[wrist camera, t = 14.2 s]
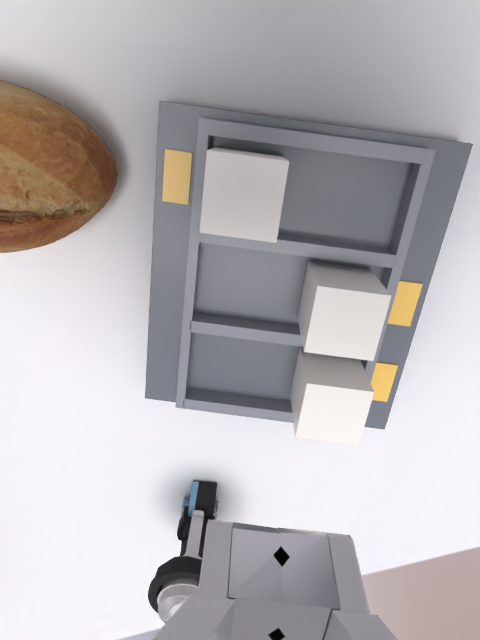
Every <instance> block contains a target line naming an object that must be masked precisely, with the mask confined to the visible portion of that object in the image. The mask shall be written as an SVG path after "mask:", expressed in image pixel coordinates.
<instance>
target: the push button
mask: <svg viewBox="0 0 480 640" xmlns="http://www.w3.org/2000/svg"><path fill="white" fill-rule="evenodd" d="M216 488H217V484H216V483H207V482H197V481H193V483H192V491H191V496H190V502H189V506H185V497H184V501H183V506H182V515H181V519H180V521H179V526H178V531H177V536H178V539H179V540H182V545H181V553H180V557H174V558H172V559H171V560H169V561H168V562H166V563H164V564H163V565H161V566H160V567H159V568H158V570H157V573H156V576H155V578H154V579H153V580H152V582H151V584H150V587H149V591H148V599H149V602H150V605H151V606H152V608H153V609H154V610H155V611H156V612H157V613H158V614H159V617H160V619H161V620H162V621H163V622H164V623H167V621H168V620H169V619H170V618H171V617H172V615H173V614H174V613H175V612H176V611H177V610H178V608H179V607H180V606H181V605H182V604H183V602H184V601H185V600H186V599H187V598H188V596H189V595H190V594H191V595H198V588H199V580H200V573H201V565H202V557H203V550H204V542H205V534H206V527H207V523H208V519H209V520H216V516H217V508H216V512H214V505H215V497H216ZM217 507H218V501H217Z"/></svg>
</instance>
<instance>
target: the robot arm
mask: <svg viewBox="0 0 480 640" xmlns="http://www.w3.org/2000/svg"><path fill="white" fill-rule="evenodd" d="M153 640H398V639H397V638H396V637H395V635H394V634H393V633H392V632H391V630H390V629H389V628H388V627H387V625H386V624H385V623H384V622H383V621H382V619H381V618H380V617H379V616H378V615H375V614H370V611H369V607H368V603H367V598H366V594H365V590H364V585H363V581H362V577H361V572H360V568H359V564H358V559H357V555H356V551H355V546H354V542H353V539H352V538H351V536H350V535H342V534H333V533H324V532H317V531H306V530H296V529H285V528H271V527H263V526H256V525H249V524H241V523H234V522H233V523H232V522H224V521H216V520H209V519H208V523H207V527H206V534H205V542H204V550H203V557H202V565H201V573H200V580H199V588H198V595H191V594H190V595H189V596H188V598H187V599H186V600H185V601H184V602H183V604H182V605H181V606H180V607H179V608H178V610H177V611H176V612H175V613H174V614H173V615H172V617H171V618H170V619H169V620H168V621H167V623H166V624H165V625H164V626H163V627H162V629H161V630H160V631H159V632H158V634H157V635H156V636H155V637H154V638H153Z"/></svg>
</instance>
